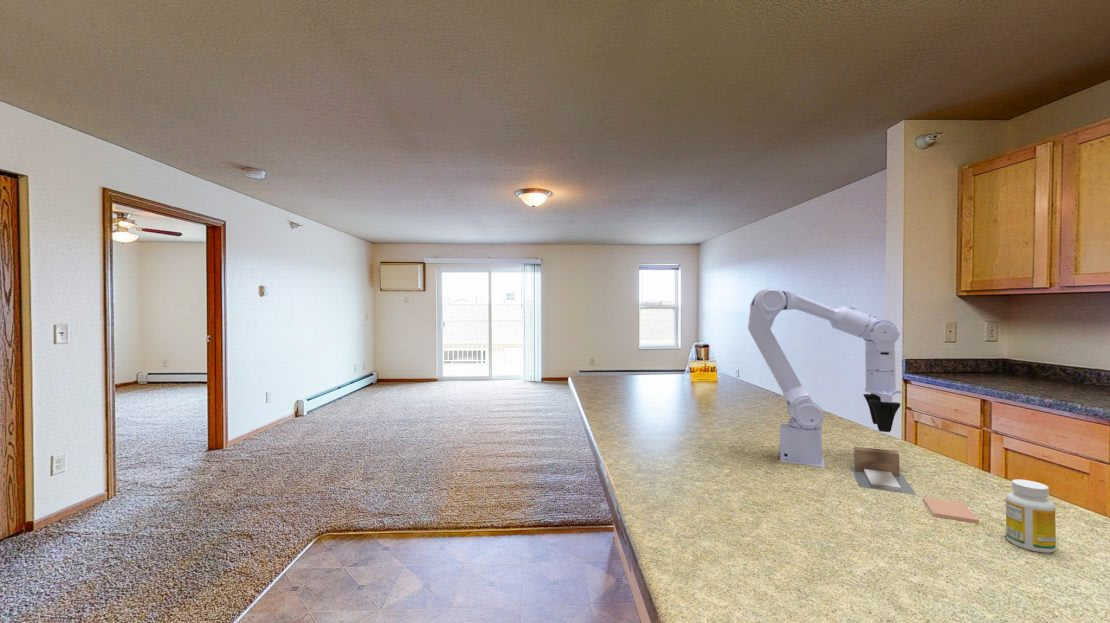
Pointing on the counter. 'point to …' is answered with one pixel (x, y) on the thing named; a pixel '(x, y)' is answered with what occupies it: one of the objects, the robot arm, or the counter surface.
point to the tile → (950, 510)
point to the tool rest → (901, 481)
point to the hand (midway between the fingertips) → (881, 427)
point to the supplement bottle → (1030, 517)
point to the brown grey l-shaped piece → (878, 467)
